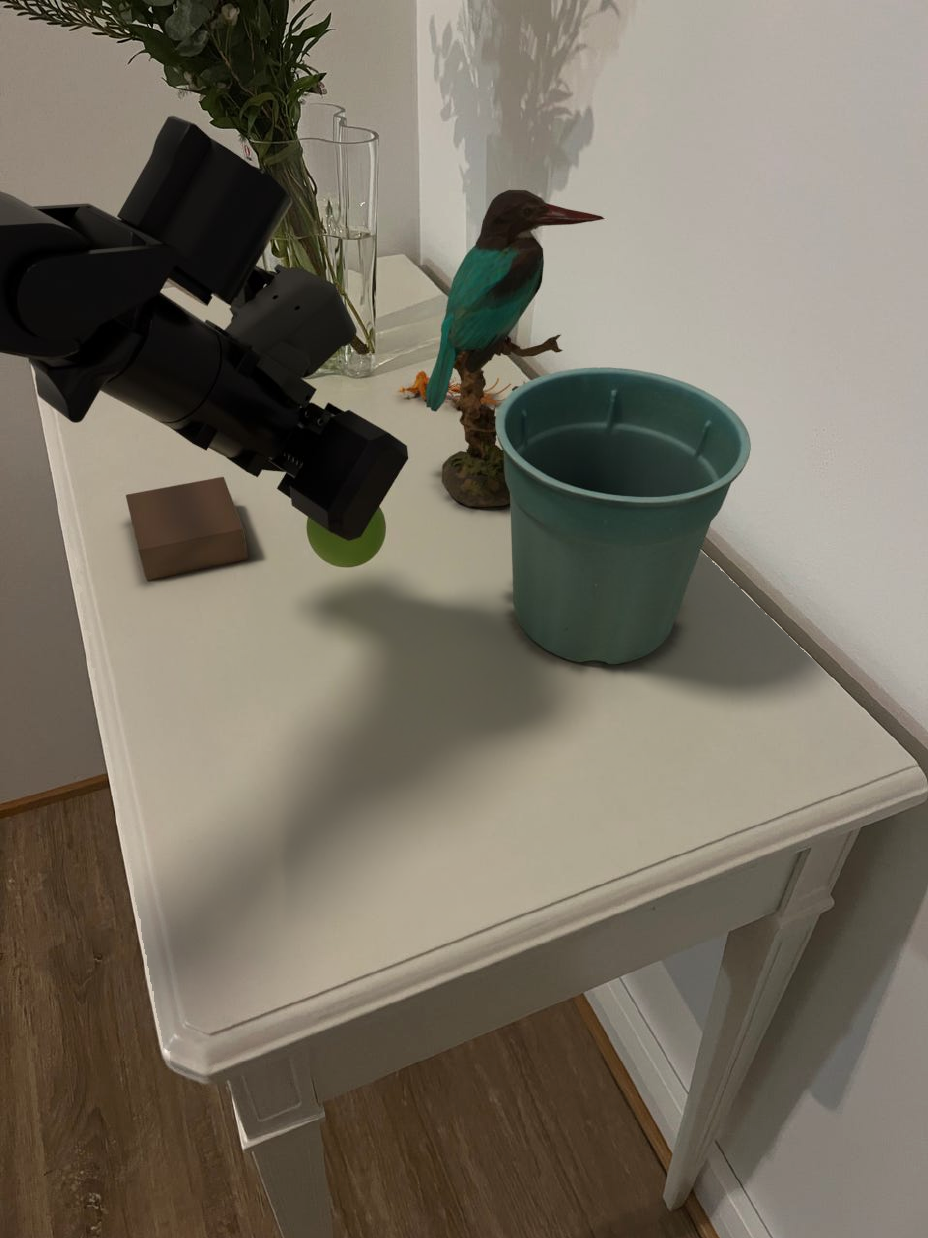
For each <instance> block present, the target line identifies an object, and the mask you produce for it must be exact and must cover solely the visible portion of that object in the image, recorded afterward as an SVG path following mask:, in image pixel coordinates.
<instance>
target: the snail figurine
mask: <svg viewBox="0 0 928 1238" xmlns="http://www.w3.org/2000/svg"><path fill="white" fill-rule="evenodd" d="M305 528H306V536H307V539H308V540H307V541H308V542H309V546H311V549H312V550H313V552H314V553H315V554H316V555H317V556H318V557H319V558H320V559H321V560H323V561H324V562H326V563H328V564H329V565H331V566H334V567H339V568H355V567H359V566H362V565H364V564H366V563H368V562H369V561H371V560H372V559H373V558H374V557H375V556H376V555H377V554H378V553H379V552H380V550H381V548H382V547H383V544H384V542H385V539H386V534H387V524H386V518H385V515H384V512H383V510H382V508H381V506H379V508H378V509H377V511H376V513H375V514H374V516H373V518H372V519H371V521H370V522H369V524H368V526H367V527H366V529H365V531H364V532H363V534H362V536H361V537H360V538H357V539H354V540H351V541H347V540H345V539H343V538H341V537H339V536H337V535H335V534H333V533H331V532H329V531H328V530H326V529H325V528H323V527H322V526H320V525H319V524H318V523H316V522H315V521H313V520H312V519H310V518H309V517H308V516H307V519H306V527H305Z"/></svg>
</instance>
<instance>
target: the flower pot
mask: <svg viewBox="0 0 928 1238" xmlns="http://www.w3.org/2000/svg"><path fill="white" fill-rule="evenodd" d="M518 386H519V385H518ZM505 398H506V399H505ZM505 398H504V399H505V400H504V401H501V404H500V405H499V407H498V410H497V411H496V415H495V416H496V419H495V428H496V433H497V435H496V439H497V442H498V443H499V445H500V449H501V450H503V451H504V471H505V480H506V483H507V486H508V489H509V491H510V503H509V506H510V507H509V508H510V535H511V536H510V537H511V566H512V567H511V569H512V595H513V596H512V597H513V598H512V600H513V609H514V615H515V617H516V621H517V622H518V625H519V626H520V628H521V629H522V630H523V632H524V633H525V634H526V635H527V636H528V637H529V638H530V639H531V640H532V641H533V642H534V643H536V644H537V645H539V646H540V647H541V648H543V649H545V650H546V651H548V652H550V653H551V654H553V655H555V656H557V657H561V658H563V659H566V660H569V661H573V662H577V663H583V662H587V661H599V662H604V663H607V664H608V665H619V664H624V663H629V662H633V661H637V660H639V659H641V658H643V657H645V656H648V655H649V654H651V653H652V652H654V651H655V650H657V649H658V648H659V647H661V646H662V645H663V644H664V642H665V641H666V640H667V638H668V637H669V635H670V633H671V632H672V629H673V627H674V624H675V621H676V619H677V616H678V613H679V610H680V607H681V606H682V602H683V599H684V597H685V594H686V591H687V589H688V586H689V583H690V581H691V577H692V575H693V572H694V569H695V567H696V565H697V561H698V558H699V556H700V554H701V553H700V552H701V550H702V547H703V546H704V542H705V539H706V536H707V535H708V531H709V528H710V526H711V524H712V521H713V520H714V519H715V518H716V516H718V514H719V513H720V511H721V509H722V507H723V505H724V502H725V500H726V498H727V496H728V492H729V490H730V487H731V485H732V483H733V482H734V481H735V480H736V479H737V478H738V477H739V476H740V474H742V472H743V470H744V468H745V467H746V465H747V463H748V461H749V458H750V456H751V449H752V447H751V446H752V444H751V443H752V442H751V437H750V434H749V432H748V429H747V427H746V425H745V424H744V421H743V420H742V419H741V418H740V416H739V415H738V414H737V413H736V412H735V411H734V410H733V409H732V408H731V407H730V406H728V405H727V404H726V403H724V402H723V401H722V400H720V399H719V398H717V397H716V396H715V395H712V394H711V393H710V392H707V391H706V390H704V389H702V388H699V387H697V386H695V385H693V384H690V383H688V382H685V381H683V380H680V379H677V378H673V377H670V376H666V375H663V374H658V373H654V372H648V371H643V370H638V369H631V368H624V367H623V368H622V367H621V368H620V367H607V366H605V367H594V366H593V367H583V368H582V367H581V368H572V369H566V370H561V371H555V372H552V373H548V374H543V375H541V376H538V377H535V378H533V379H530V380H529V381H527V382H525V383H524V382H523V384H522V385H520V386H519V387H518V388H516V389H515V390H514V391H511V392H510V393H509V394H508V395H507V396H506V397H505Z"/></svg>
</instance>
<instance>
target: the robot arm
mask: <svg viewBox="0 0 928 1238" xmlns="http://www.w3.org/2000/svg"><path fill="white" fill-rule="evenodd" d="M292 199H293V198H292V197H291V195H290V194H289V193H288V191H287V190H286V189H285V187H283V186H282V185H281V183H279V182H278V180H276V179H275V178H274V177H273V176H272V175H271V174H269V173H268V172H267V171H265V170H264V169H262V168H259V167H256V166H254V165H252V164H251V163H249V162H248V161H246V160H245V159H244V158H242V157H241V156H240V155H239V154H237V153H235V152H234V151H233V150H231V149H229V148H228V147H226V146H225V145H223V144H222V143H220V142H218V141H217V140H215V139H213V138H212V137H210V136H209V135H208V134H207V133H206V132H205V131H204V130H202V128H200V127H199V126H198V125H197V124H196V123H194V122H191V121H188V120H186V119H184V118H180V117H178V116H175V115H169V116H167V118H166V120H165V121H164V124H163V125H162V126H161V128H160V129H159V132H158V134H157V136H156V138H155V141H154V144H153V147H152V151H151V154H150V156H149V158H148V160H147V162H146V164H145V166H144V167H143V169H142V171H141V173H140V174H139V176H138V177H137V180H136V181H135V183H134V185H133V187H132V188H131V190H130V192H129V194H128V196H127V197H126V199H125V201H124V203H123V204H122V206H121V208H120V210H119V211H118V213H117V215H116V216H115V215H112V214H111V213H108V212H107V211H104V210H102V209H101V208H99V207H97V206H95V205H93V204H91V203H88V202H87V203H72V204H70V203H69V204H53V205H52V204H51V205H35V206H32V205H30V204H28V203H27V202H25V201H23V200H21V199H19V198H18V197H16V196H14V195H12V194H10V193H7V192H3V191H1V190H0V354H7V355H11V356H16V357H21V358H27V359H28V362H29V364H30V365H31V367H32V369H33V371H34V380H35V386H36V392H37V396H38V397H39V398H40V399H42V400H43V401H44V402H45V403H47V404H48V405H49V406H50V407H52V408H53V409H55V410H56V411H57V412H58V413H59V414H61V415H62V416H63V417H65V418H66V419H67V420H68V421H69V422H72V423H74V424H78V423H81V422H82V421H83V420H84V419H85V417H86V416H87V413H88V412H89V410H90V409H91V407H92V405H93V403H94V401H95V400H96V398H97V397H98V394H99V392H101V393H103V394H105V395H107V396H109V397H111V398H113V399H115V400H117V401H119V402H120V403H122V404H124V405H127V406H129V407H130V408H132V409H134V410H136V411H138V412H140V413H141V414H144V415H146V416H148V417H150V418H151V419H153V420H155V421H157V422H158V423H160V424H162V425H164V426H167V427H168V428H170V429H171V430H172V431H174V432H176V434H178V435H179V436H181V437H182V438H184V439H185V440H187V441H188V442H189V443H191V444H192V445H194V446H196V447H198V448H199V449H202V450H204V451H205V452H206V451H208V449H210V450H212V451H214V452H215V453H217V454H219V455H221V456H223V457H225V459H227V460H228V461H230V462H231V463H233V464H235V465H236V466H237V467H239V468H240V469H242V470H243V471H245V472H246V473H248V474H250V475H252V476H254V477H256V478H259V476H260V474H261V473H262V471H267V472H268V471H269V472H277V473H278V472H279V473H285V474H284V476H283V477H282V478H281V481H280V482H279V484H278V485H277V487H276V489H277V490H278V491H279V492H281V493H282V494H283V495H285V496H287V497H288V498H289V499H290V502H291V503H290V504H291V506H292V507H293V508H294V509H296V510H298V511H299V512H300V513H301V514H303V515H305V516H306V517H307V518H308V517H309V518H310V519H312V520H313V521H315V522H316V523H318V524H319V525H320V526H322V527H323V528H325V529H326V530H328V531H329V532H331V533H333V534H335V535H337V536H339V537H341V538H343V539H345V540H347V541H351V540H354V539H357V538H360V537H361V536H362V534H363V532H364V531H365V529H366V527H367V526H368V524H369V522H370V521H371V519H372V518H373V516H374V514H375V513H376V511H377V509H378V508H379V507H381V504H382V503H383V501H384V500H385V498H386V496H387V495H388V492H389V491H390V490H391V488H392V486H393V485H394V483H395V481H396V480H397V478H398V477H399V475H400V473H401V471H402V470H403V468H404V466H405V465H406V463H407V461H408V460H409V451H408V445H407V444H405V443H404V442H402V441H401V440H400V439H399V438H397V437H395V436H394V435H393V434H391V433H390V432H388V431H387V430H385V429H383V428H382V427H380V426H378V425H376V424H374V423H373V422H372V421H369V420H368V419H366V418H364V417H363V416H361V415H359V414H357V413H355V412H354V411H352V410H350V409H347V410H342V409H341V408H339V407H338V406H336V405H334V404H332V403H331V402H327V403H326V405H325V406H324V408H323V407H322V406H320V405H318V404H316V403H315V402H311V400H312V398H313V397H314V395H315V394H316V392H317V390H318V388H316V387H315V386H313V385H312V384H310V383H309V382H308V381H305V379H304V378H308V377H310V376H312V375H313V374H315V373H316V372H317V371H318V370H320V369H321V367H322V366H323V365H325V363H327V362H328V361H329V360H330V359H331V358H332V357H333V356H334V355H335V354H336V353H337V352H338V351H339V350H340V349H341V348H342V347H347V346H349V344H350V343H351V342H353V340H354V339H355V338H356V336H357V333H358V330H357V327H356V324H355V322H354V321H353V318H352V316H351V315H350V313H349V311H348V308H347V307H346V304H345V302H344V299H343V298H342V296H341V294H340V292H339V290H338V288H337V285H335V283H333V282H331V281H329V280H327V279H325V278H323V277H321V276H319V275H318V274H315V273H312V272H311V271H308V270H306V269H304V268H302V267H299V266H291V267H285V266H284V265H281V264H280V263H278V264H277V265H275V266H274V268H273V270H274V272H275V274H272V273H271V272H269V271H268V270H266V269H264V268H262V267H260V266H258V265H257V264H258V263H259V261H260V259H261V258H262V256H263V254H264V252H265V250H266V249H267V248H268V246H269V243H270V242H271V240H272V238H273V237H274V235H275V233H276V232H277V230H278V228H279V226H280V225H281V223H282V221H283V220H284V218H285V216H286V215H287V213H288V211H289V209H290V207H291V206H292V205H293V200H292ZM166 283H168V284H170V285H171V286H172V287H174V288H175V289H177V290H178V291H180V292H182V293H183V294H185V295H186V296H188V297H190V298H191V299H193V300H195V301H196V302H198V303H200V304H202V305H203V306H206V307H208V306H209V304H210V302H211V301H212V299H213V296H214V297H216V298H217V299H219V300H220V301H222V302H224V303H225V304H227V305H228V306H230V307H229V311H230V313H231V315H232V317H231V319H230V322H229V324H228V325H227V326H226V327H225V329H223V328H222V327H221V326H219V325H218V324H216V323H214V322H212V321H211V320H209V319H207V318H206V319H205V320H202V319H200V318H199V317H198V316H196V315H195V314H193V313H192V312H191V311H189V310H187V309H186V308H185V307H183V306H181V305H180V304H179V303H177V302H175V301H174V300H173V299H171V297H168V296H167V295H165V294H164V293H163V292H162V290H163V288H164V287H165V285H166ZM212 295H213V296H212Z"/></svg>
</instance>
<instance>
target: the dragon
mask: <svg viewBox="0 0 928 1238" xmlns="http://www.w3.org/2000/svg"><path fill="white" fill-rule="evenodd" d="M429 380H430V377H429V376H428V375H427V373H426V371H424V370H421V371H418V373H417V374H416V376H415V380H414V382H413V385H412V386H409V387H404V386H403V385H400V388H401V389H398V390H397V393H402V394H404V395H406V392H409V393H412V394H414V395H415V394H418V393H420V395H421V397H422V399H423V400H425V401H426V395H425V392H426V388H427V385H428V382H429ZM499 380H500V378H499V377H497V378H496V382H495V383H494V385H492V386H491V387H490V388H488V389H484V390H483V392H484V397H483V398H481V405H485V404H488V405H490V406H492V407H493V408H494V407H495V405H496V404H497V403H498V402H503V401H504V400H505V399H506V398H507V397H505V398H502V399H494V398H493V397H495V396H498V395H500V394H501V393H503V392H504V391H506V390H507V389H509V388H510V386H511V385H512V383H511V382H510V383H509V384H508V385H507V386H505V387H504V388H503V389H501V390H500V391H498V392H496V393H493V394H491V393H488V392H490V391H492V390H494V389H495V388H496V386H497V385H498V383H499ZM455 381H457V378H456V377H454V378H452V377H451V379H450V383H449V388H448V391H447V394H449V395H450V396H451V397H452V398H451V400H450V402H449V405H452V404H453V405H454V406H455V403H456V402H458V401H459V398H460V395H461V392H460V385H461V383H459V382H456V383H454V382H455ZM453 383H454V384H453ZM457 394H458V395H457ZM495 400H496V402H495Z"/></svg>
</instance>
